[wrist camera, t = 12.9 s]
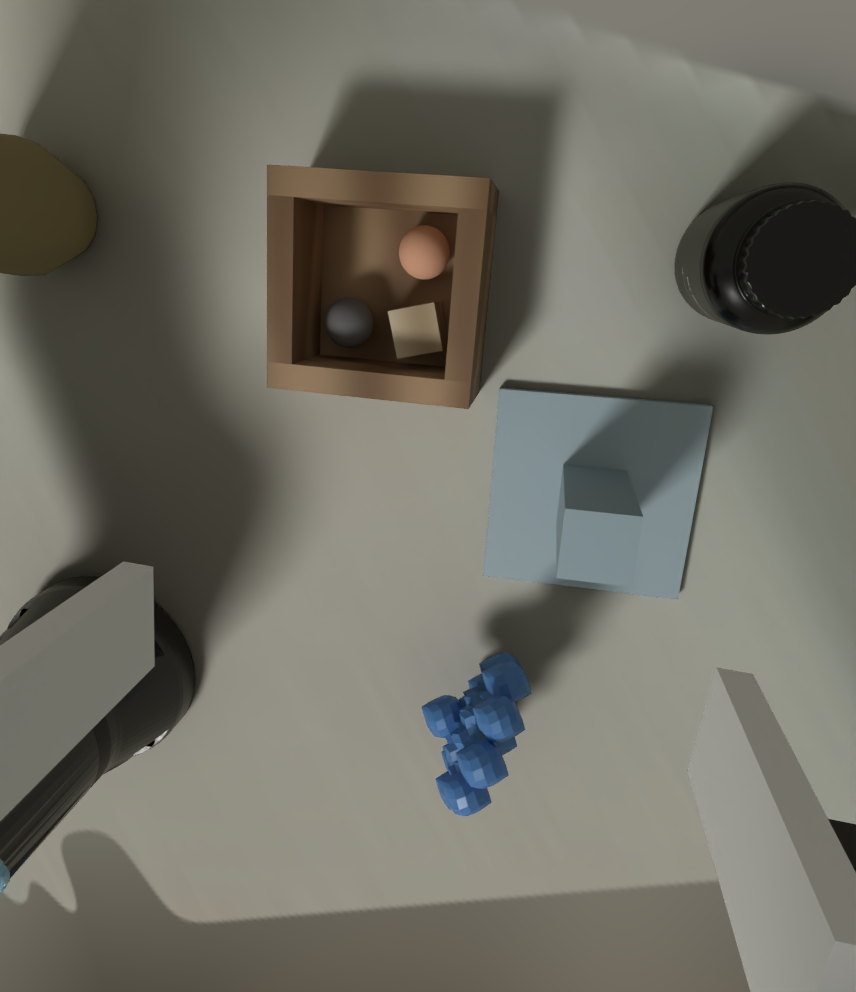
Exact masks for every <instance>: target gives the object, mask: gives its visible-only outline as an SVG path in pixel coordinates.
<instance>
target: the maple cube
mask: <svg viewBox="0 0 856 992" xmlns="http://www.w3.org/2000/svg"><path fill="white" fill-rule="evenodd" d="M388 315H389V320H390V325H391V330H392V335H393V340H394V346H395V351H396V356H397V359H399V358H404V357H410V356H416V355H421V354H427V353H433V352H438V351H443V350H444V349H446V348H447V343H448V336H447V330H446V324H445V318H444V313H443V307H442V301H436V302H431V303H425V304H420V305H415V306H410V307H405V308H399V309H395V310H391V311H388Z"/></svg>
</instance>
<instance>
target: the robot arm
mask: <svg viewBox="0 0 856 992" xmlns="http://www.w3.org/2000/svg"><path fill="white" fill-rule="evenodd" d="M194 680H195V677H194V667H193V662H192V658H191V655H190V651H189V649H188V646H187V644H186V642H185V640H184V638H183V636H182V634H181V633H180V631H179V629H178V628H177V626H176V625H175V624H174V622H173V621H172V620H171V619H170V617H169V616H168V615H167V614H166V613H165V612H164V611H163V610H162V609H161V608H160V607H159V606H158V605H157V604H156V603H154V583H153V567H152V566H147V565H141V564H136V563H130V562H124V561H123V562H122V563H120V564H119V565H117V566H116V567H115V568H113V569H112V570H110V571H109V572H107V573H106V574H104V575H103V576H101V577H100V578H99V577H76V578H71V579H67V580H63V581H61V582H58V583H56V584H54V585H52V586H51V587H49V588H48V589H46V590H44V591H43V592H41V593H40V594H38V595H36V596H35V597H33V598H32V599H31V600H29V601H28V602H27V603H26V604H25V605H24V606H23V607H21V609H20V610H19V611H18V612H17V613H16V615H15V616H14V618H13V619H12V621H11V622H10V624H9V626H8V628H7V630H6V631H5V632H4V633H3V634H2V635H1V636H0V893H1V892H2V891H3V890H4V889H5V888H6V886H7V884H8V882H9V881H10V880H9V879H10V878H11V877H12V876H13V875H14V874H15V872H16V871H17V870H18V869H19V868H20V867H21V866H22V865H23V863H24V862H25V861H26V860H27V859H28V858H29V857H30V856H31V854H32V853H33V852H34V851H35V850H36V849H37V848H38V847H39V845H40V844H41V843H42V842H43V841H44V840H45V839H46V838H47V836H48V835H49V834H50V833H51V832H52V831H53V830H54V829H55V827H56V826H57V825H58V824H59V823H60V822H61V821H62V820H63V818H64V817H65V816H66V815H67V814H68V813H69V812H70V811H71V809H72V808H73V807H74V806H75V805H76V804H77V803H78V802H79V800H80V799H81V798H82V797H83V796H84V795H85V794H86V793H87V791H88V790H89V789H90V788H91V787H92V786H93V784H94V783H95V782H96V781H97V780H98V779H99V778H100V777H101V776H102V775H103V774H105V773H106V772H108V771H110V770H112V769H114V768H116V767H117V766H119V765H121V764H123V763H124V762H126V761H127V760H128V759H130V758H131V757H132V756H135V755H138V754H141V753H143V752H145V751H147V750H149V749H151V748H152V747H154V746H155V745H157V744H158V743H159V742H161V741H162V740H163V739H164V738H165V737H166V736H167V735H168V734H169V733H170V732H171V731H172V729H173V728H174V727H175V726H176V725H177V723H178V722H179V721H180V720H181V719H182V717H183V716H184V715H185V713H186V711H187V709H188V707H189V705H190V703H191V700H192V696H193V691H194ZM687 771H688V775H689V778H690V782H691V785H692V789H693V792H694V796H695V799H696V803H697V806H698V810H699V813H700V817H701V820H702V824H703V827H704V831H705V834H706V838H707V841H708V845H709V848H710V852H711V855H712V859H713V862H714V866H715V869H716V873H717V876H718V880H719V883H720V886H721V890H722V893H723V897H724V901H725V904H726V908H727V911H728V915H729V918H730V921H731V925H732V929H733V932H734V935H735V939H736V942H737V946H738V949H739V953H740V956H741V960H742V963H743V967H744V970H745V974H746V977H747V981H748V984H749V987H750V991H751V992H856V824H851V823H846V822H841V821H836V820H831V819H828V818H827V816H826V814H825V812H824V810H823V808H822V806H821V805H820V803H819V801H818V799H817V797H816V795H815V793H814V791H813V789H812V787H811V785H810V783H809V781H808V779H807V778H806V776H805V774H804V772H803V770H802V768H801V766H800V764H799V762H798V760H797V758H796V756H795V754H794V752H793V751H792V749H791V747H790V745H789V743H788V741H787V739H786V737H785V735H784V733H783V731H782V729H781V727H780V726H779V724H778V722H777V720H776V718H775V716H774V714H773V712H772V710H771V708H770V706H769V704H768V702H767V700H766V699H765V697H764V695H763V693H762V691H761V689H760V687H759V685H758V683H757V681H756V679H755V677H754V675H753V674H750V673H744V672H738V671H733V670H727V669H722V668H716V671H715V675H714V678H713V682H712V685H711V689H710V692H709V696H708V699H707V703H706V707H705V710H704V714H703V717H702V721H701V724H700V728H699V731H698V735H697V738H696V742H695V745H694V749H693V753H692V756H691V760H690V763H689V767H688V770H687Z"/></svg>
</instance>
